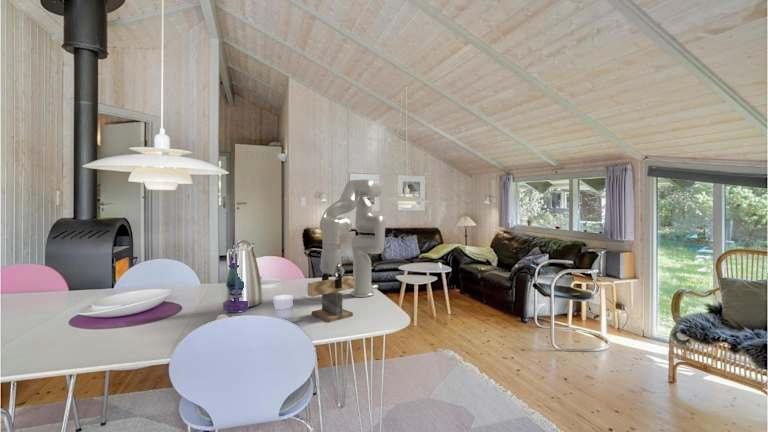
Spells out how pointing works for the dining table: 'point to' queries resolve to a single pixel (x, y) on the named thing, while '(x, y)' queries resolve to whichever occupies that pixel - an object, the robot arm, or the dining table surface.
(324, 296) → the stand
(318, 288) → the oak bar
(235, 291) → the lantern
